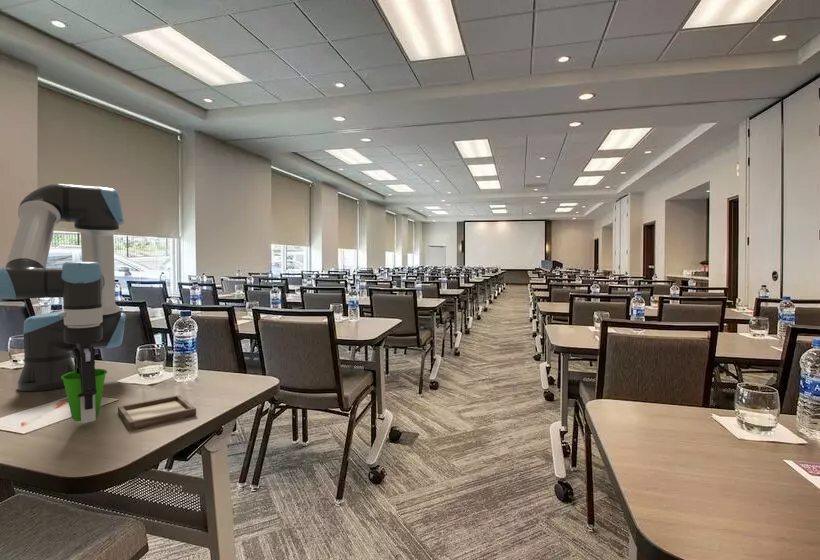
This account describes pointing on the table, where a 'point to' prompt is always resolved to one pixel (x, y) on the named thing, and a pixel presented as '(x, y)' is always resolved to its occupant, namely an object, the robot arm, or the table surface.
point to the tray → (155, 412)
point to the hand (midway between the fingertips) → (85, 415)
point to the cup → (74, 388)
